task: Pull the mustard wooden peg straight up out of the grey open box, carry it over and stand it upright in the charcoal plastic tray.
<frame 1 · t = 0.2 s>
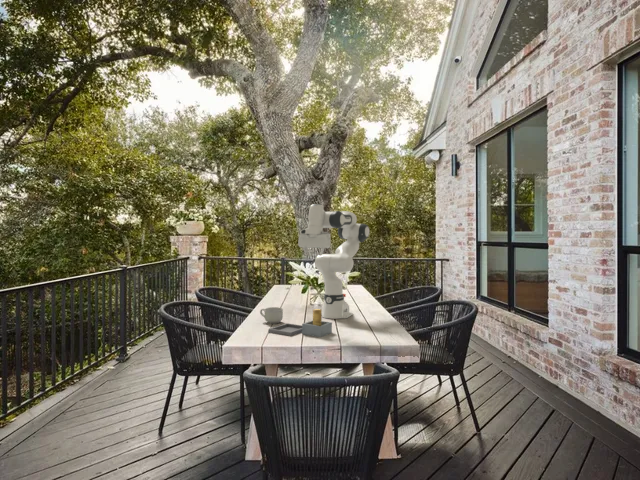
hand: (313, 255, 231), 39 cm above the table, tool pointing down, fingers open, 8 cm apart
teacup: (271, 322, 235), on the table
tray: (288, 332, 211), on the table
grey open box: (317, 334, 206), on the table
peg: (317, 333, 206), point 1 cm above the table, touching grey open box
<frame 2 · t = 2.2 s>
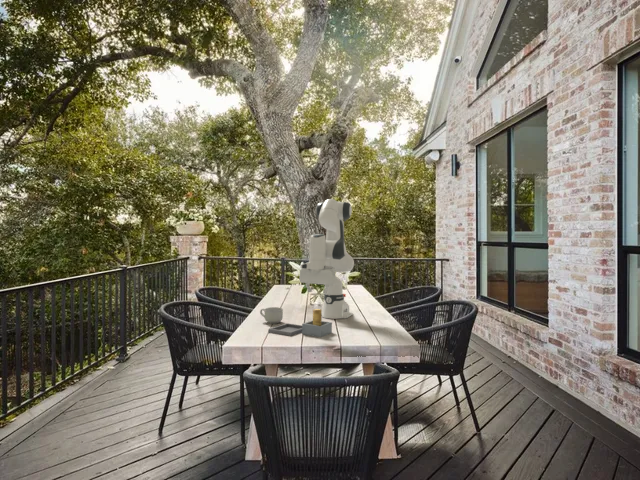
hand: (317, 292, 206), 22 cm above the table, tool pointing down, fingers open, 8 cm apart
nothing on the table moved.
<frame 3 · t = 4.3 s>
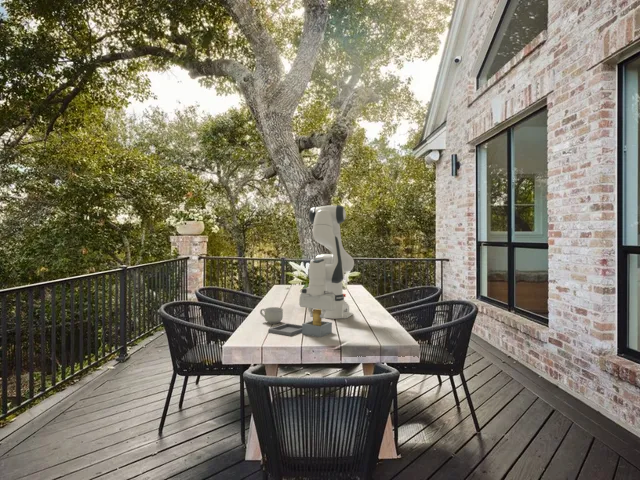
hand: (317, 317, 206), 9 cm above the table, tool pointing down, fingers closed on peg, 4 cm apart
peg: (317, 333, 206), point 1 cm above the table, touching grey open box, gripper
everything else where it was.
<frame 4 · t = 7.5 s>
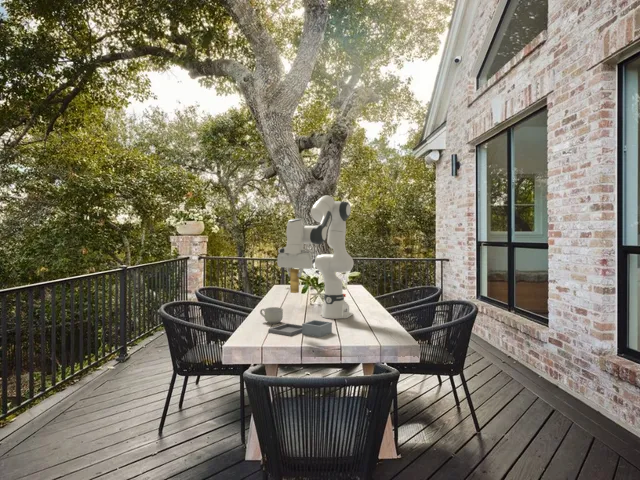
hand: (294, 276, 210), 29 cm above the table, tool pointing down, fingers closed on peg, 4 cm apart
peg: (294, 292, 210), point 21 cm above the table, touching gripper
everything else where it was.
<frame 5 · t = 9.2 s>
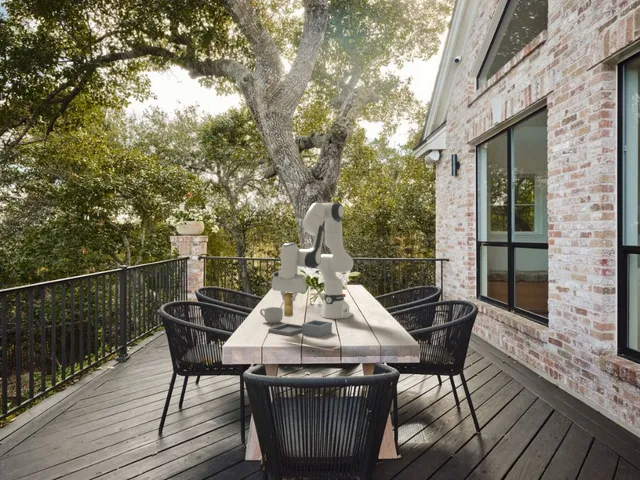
hand: (288, 300, 211), 17 cm above the table, tool pointing down, fingers closed on peg, 4 cm apart
peg: (288, 315, 211), point 9 cm above the table, touching gripper
everything else where it was.
when the fingers open (11 cm above the table, at t = 10.7 s): peg drops 1 cm, resting on tray.
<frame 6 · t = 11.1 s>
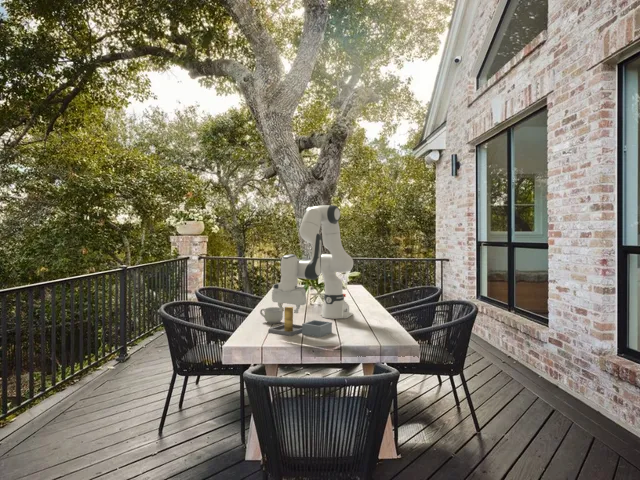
hand: (288, 312, 211), 11 cm above the table, tool pointing down, fingers open, 8 cm apart
peg: (288, 330, 211), point 1 cm above the table, touching tray
everything else where it was.
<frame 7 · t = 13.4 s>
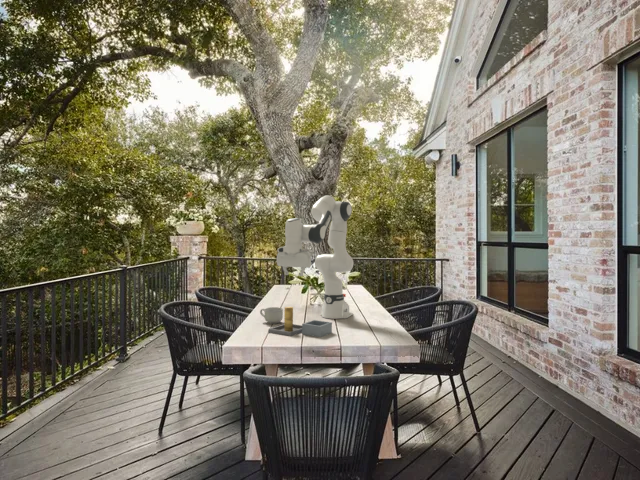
hand: (293, 275, 212), 30 cm above the table, tool pointing down, fingers open, 8 cm apart
nothing on the table moved.
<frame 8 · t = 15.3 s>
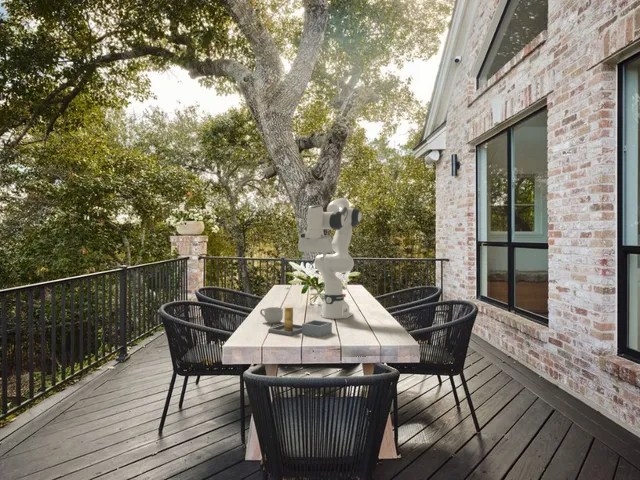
hand: (314, 260, 219), 37 cm above the table, tool pointing down, fingers open, 8 cm apart
nothing on the table moved.
at the end: peg inside the target area on the tray (0.0 cm from its centre), point 1.0 cm above the tray's base; peg tilted 0°; the gripper is holding nothing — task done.
